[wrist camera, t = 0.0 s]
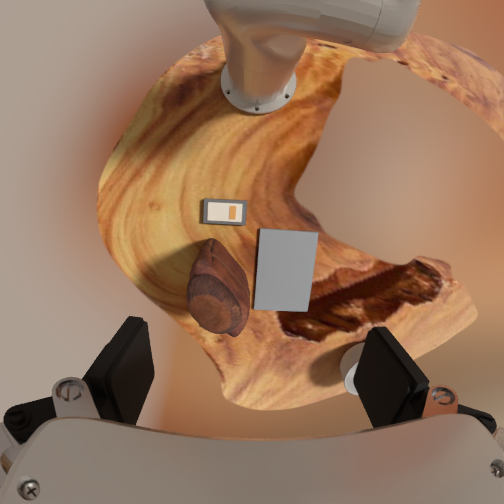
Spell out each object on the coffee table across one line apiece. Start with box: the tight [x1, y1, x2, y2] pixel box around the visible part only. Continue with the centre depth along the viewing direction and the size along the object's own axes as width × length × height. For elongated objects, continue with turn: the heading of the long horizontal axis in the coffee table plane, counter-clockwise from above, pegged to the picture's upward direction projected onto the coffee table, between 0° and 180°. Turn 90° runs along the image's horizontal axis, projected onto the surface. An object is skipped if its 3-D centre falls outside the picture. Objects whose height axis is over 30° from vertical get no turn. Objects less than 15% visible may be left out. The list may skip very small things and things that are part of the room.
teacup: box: [340, 342, 365, 395], centre depth 50 cm, size 14×11×8 cm
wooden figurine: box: [186, 238, 250, 337], centre depth 40 cm, size 12×6×18 cm, turn 36°
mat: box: [254, 228, 318, 311], centre depth 48 cm, size 15×10×1 cm, turn 176°
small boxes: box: [203, 198, 247, 225], centre depth 48 cm, size 24×7×1 cm, turn 176°
